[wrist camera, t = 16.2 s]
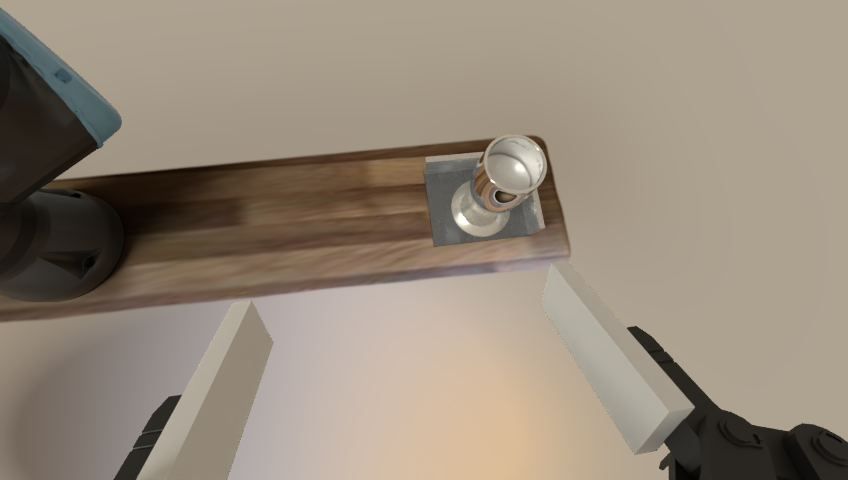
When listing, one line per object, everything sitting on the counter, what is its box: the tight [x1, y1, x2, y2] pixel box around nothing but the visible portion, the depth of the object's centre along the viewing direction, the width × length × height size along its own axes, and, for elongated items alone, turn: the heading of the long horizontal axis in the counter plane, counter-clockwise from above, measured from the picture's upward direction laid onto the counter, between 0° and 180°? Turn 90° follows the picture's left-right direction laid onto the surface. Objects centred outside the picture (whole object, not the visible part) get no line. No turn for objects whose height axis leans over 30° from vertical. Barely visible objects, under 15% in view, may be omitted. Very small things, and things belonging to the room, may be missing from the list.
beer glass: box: [460, 134, 547, 227], centre depth 38 cm, size 7×7×15 cm
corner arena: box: [423, 152, 545, 247], centre depth 44 cm, size 15×12×5 cm
